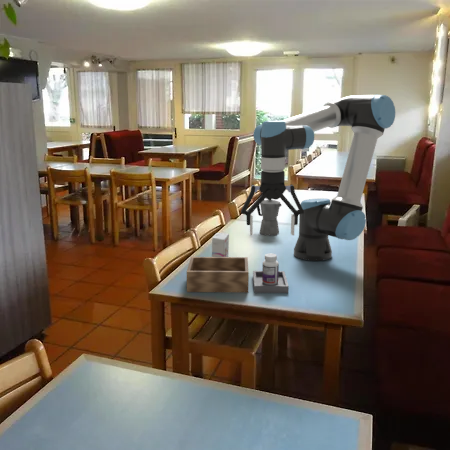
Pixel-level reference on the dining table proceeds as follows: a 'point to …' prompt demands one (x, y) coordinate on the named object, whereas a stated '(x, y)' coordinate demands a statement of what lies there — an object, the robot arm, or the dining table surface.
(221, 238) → the ink box
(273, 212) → the coffeepot
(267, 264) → the pill bottle
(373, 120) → the robot arm
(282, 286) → the tray
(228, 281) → the caddy
